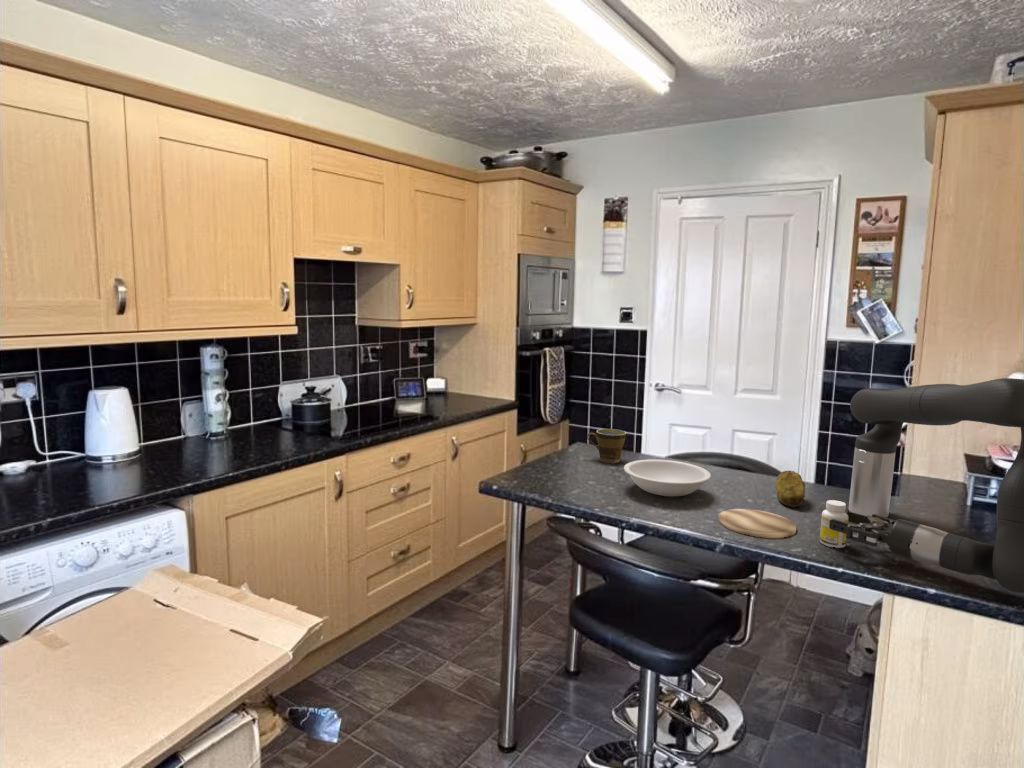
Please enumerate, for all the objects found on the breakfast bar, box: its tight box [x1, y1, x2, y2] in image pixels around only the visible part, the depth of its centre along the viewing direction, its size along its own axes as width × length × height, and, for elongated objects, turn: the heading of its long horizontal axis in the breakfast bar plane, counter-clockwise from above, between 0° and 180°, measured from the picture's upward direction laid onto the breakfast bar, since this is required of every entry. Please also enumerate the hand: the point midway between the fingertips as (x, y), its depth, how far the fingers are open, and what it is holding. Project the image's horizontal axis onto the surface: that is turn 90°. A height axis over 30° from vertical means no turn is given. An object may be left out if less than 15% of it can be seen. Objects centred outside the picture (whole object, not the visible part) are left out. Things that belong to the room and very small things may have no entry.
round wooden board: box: [717, 508, 797, 539], centre depth 153 cm, size 18×18×1 cm
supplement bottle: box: [819, 499, 849, 549], centre depth 141 cm, size 5×5×10 cm
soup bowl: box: [623, 459, 712, 497], centre depth 176 cm, size 24×24×7 cm
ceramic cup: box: [586, 428, 627, 464], centre depth 209 cm, size 13×10×10 cm
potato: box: [775, 470, 806, 508], centre depth 170 cm, size 8×13×8 cm, turn 148°
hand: (838, 519), depth 140 cm, fingers open, 8 cm apart
